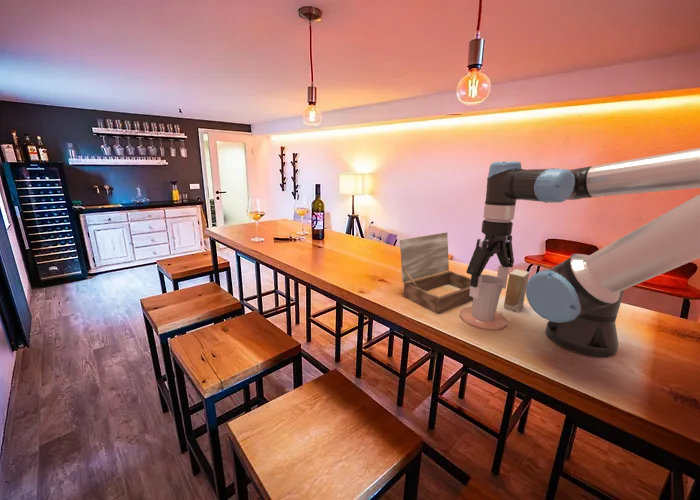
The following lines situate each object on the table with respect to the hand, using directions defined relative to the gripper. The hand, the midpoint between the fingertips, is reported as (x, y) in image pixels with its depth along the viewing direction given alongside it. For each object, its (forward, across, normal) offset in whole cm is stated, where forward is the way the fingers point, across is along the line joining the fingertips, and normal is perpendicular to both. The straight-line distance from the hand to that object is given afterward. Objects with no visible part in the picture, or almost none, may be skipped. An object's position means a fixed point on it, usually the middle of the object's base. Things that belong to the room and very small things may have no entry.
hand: (488, 292), depth 86 cm
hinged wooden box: (+9, -3, -19) cm, 22 cm away
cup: (+8, 0, -1) cm, 8 cm away
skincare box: (+9, -16, 0) cm, 19 cm away
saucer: (+9, 0, -1) cm, 9 cm away
